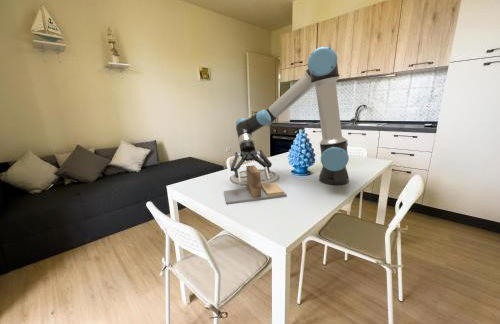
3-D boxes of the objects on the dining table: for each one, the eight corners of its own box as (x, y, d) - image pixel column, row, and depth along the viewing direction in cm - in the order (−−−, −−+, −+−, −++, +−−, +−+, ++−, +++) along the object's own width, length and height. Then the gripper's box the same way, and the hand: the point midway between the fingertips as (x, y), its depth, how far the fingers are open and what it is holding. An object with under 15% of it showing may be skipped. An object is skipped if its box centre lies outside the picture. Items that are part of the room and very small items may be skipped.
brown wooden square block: (255, 187, 112) (254, 165, 109) (261, 196, 100) (260, 172, 98) (247, 188, 111) (246, 166, 108) (252, 198, 100) (251, 172, 97)
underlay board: (277, 186, 115) (277, 181, 115) (286, 196, 102) (286, 191, 101) (224, 192, 110) (223, 188, 110) (226, 204, 97) (226, 199, 96)
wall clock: (286, 170, 137) (267, 186, 112) (286, 173, 138) (267, 189, 112) (244, 166, 151) (219, 180, 126) (244, 169, 152) (219, 182, 126)
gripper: (268, 146, 118) (278, 181, 108) (222, 150, 114) (227, 187, 103) (271, 138, 112) (281, 174, 102) (222, 142, 107) (227, 180, 97)
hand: (254, 181), depth 102 cm, fingers open, 13 cm apart
